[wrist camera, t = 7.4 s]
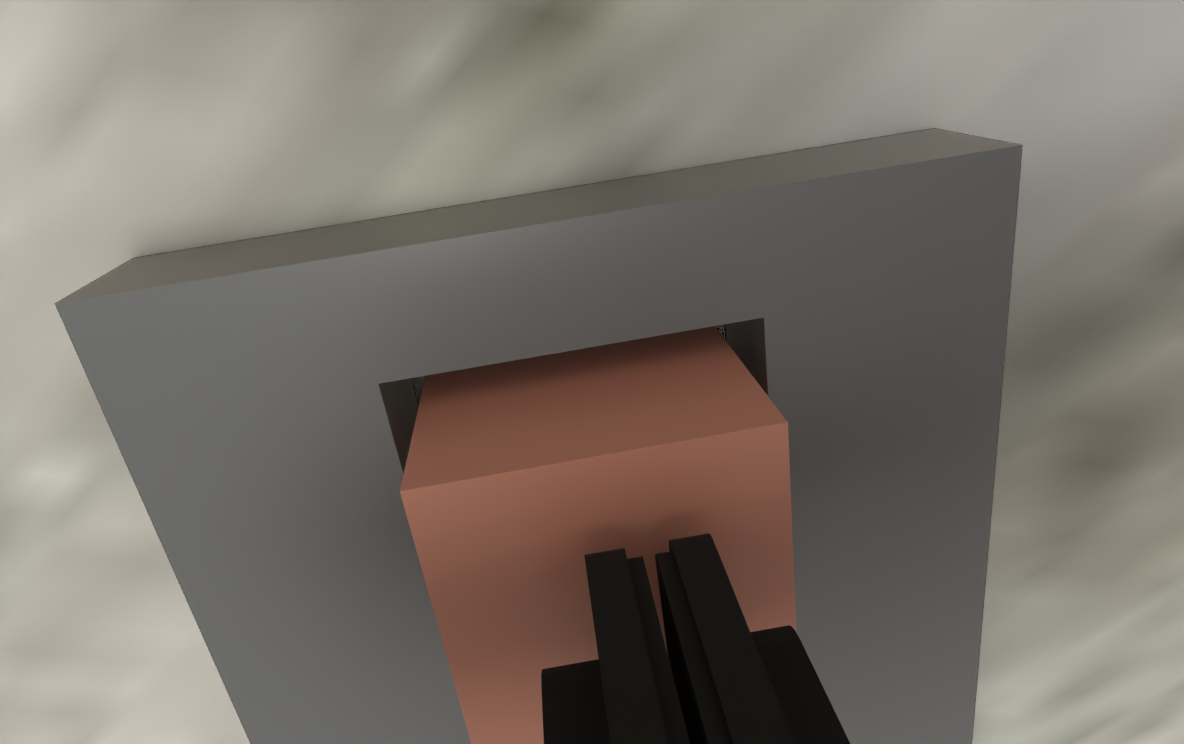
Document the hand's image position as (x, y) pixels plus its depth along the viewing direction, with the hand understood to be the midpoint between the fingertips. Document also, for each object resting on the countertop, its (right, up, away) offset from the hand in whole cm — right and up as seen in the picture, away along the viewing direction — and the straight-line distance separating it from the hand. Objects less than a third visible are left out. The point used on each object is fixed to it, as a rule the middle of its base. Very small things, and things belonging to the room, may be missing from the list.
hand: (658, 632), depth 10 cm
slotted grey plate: (0, -4, +8) cm, 9 cm away
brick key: (-1, +2, +4) cm, 5 cm away
